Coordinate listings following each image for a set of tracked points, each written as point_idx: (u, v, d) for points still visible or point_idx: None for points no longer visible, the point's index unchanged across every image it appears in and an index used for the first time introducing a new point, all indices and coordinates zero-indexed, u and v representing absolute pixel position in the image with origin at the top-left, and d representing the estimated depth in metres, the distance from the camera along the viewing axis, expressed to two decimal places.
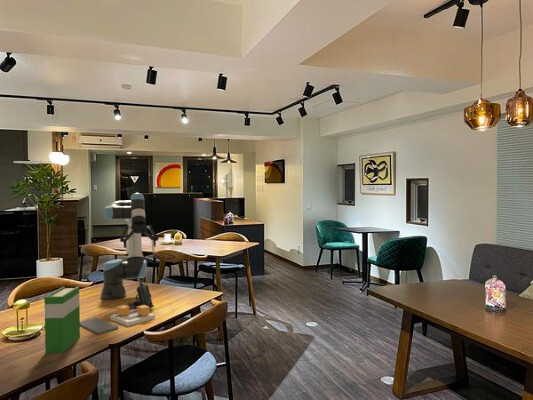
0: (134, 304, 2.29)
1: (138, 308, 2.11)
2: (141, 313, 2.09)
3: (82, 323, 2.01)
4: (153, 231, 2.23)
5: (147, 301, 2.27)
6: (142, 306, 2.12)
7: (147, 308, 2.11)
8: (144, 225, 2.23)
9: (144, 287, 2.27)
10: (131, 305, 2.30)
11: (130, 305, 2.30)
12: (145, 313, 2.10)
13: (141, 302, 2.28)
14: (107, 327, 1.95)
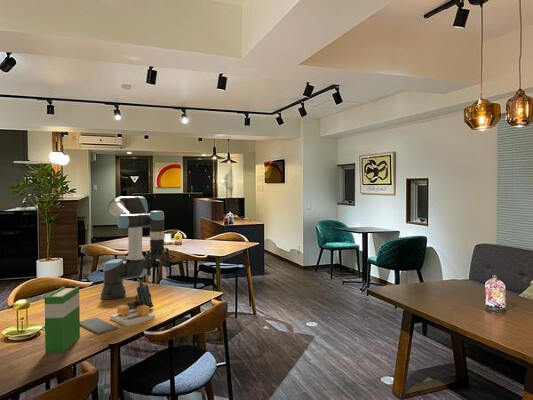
0: (134, 304, 2.29)
1: (138, 308, 2.11)
2: (141, 313, 2.09)
3: (82, 323, 2.01)
4: (168, 256, 2.22)
5: (147, 301, 2.27)
6: (142, 306, 2.12)
7: (147, 308, 2.11)
8: (162, 248, 2.19)
9: (144, 287, 2.27)
10: (131, 305, 2.30)
11: (130, 305, 2.30)
12: (145, 313, 2.10)
13: (141, 302, 2.28)
14: (107, 327, 1.95)
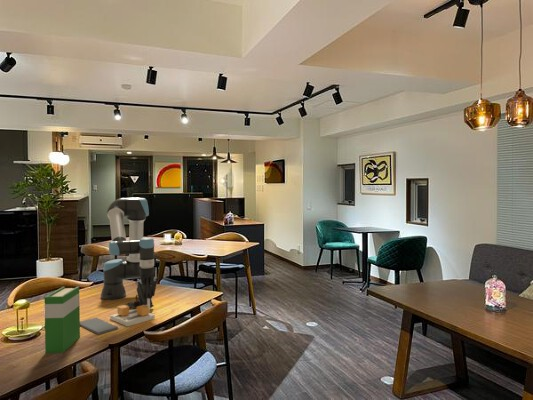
0: (134, 304, 2.29)
1: (138, 308, 2.11)
2: (141, 313, 2.09)
3: (82, 323, 2.01)
4: (155, 286, 2.16)
5: None
6: (142, 306, 2.12)
7: (147, 308, 2.11)
8: (152, 276, 2.15)
9: None
10: (131, 305, 2.30)
11: (130, 305, 2.30)
12: (145, 313, 2.10)
13: (141, 302, 2.28)
14: (107, 327, 1.95)
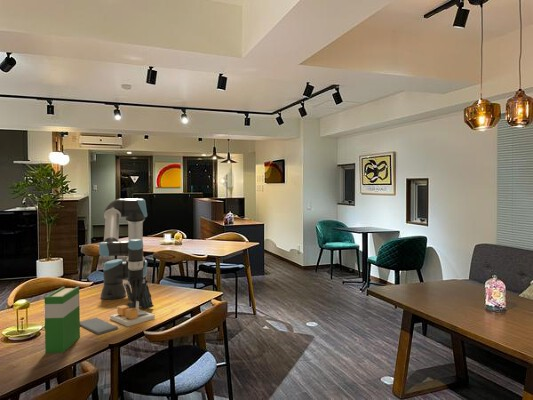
0: None
1: (126, 311, 2.06)
2: (129, 316, 2.04)
3: (82, 323, 2.01)
4: (144, 289, 2.11)
5: (147, 301, 2.27)
6: (130, 309, 2.07)
7: (135, 311, 2.06)
8: (141, 278, 2.10)
9: None
10: (131, 305, 2.30)
11: (130, 305, 2.30)
12: (133, 316, 2.05)
13: (141, 302, 2.28)
14: (107, 327, 1.95)
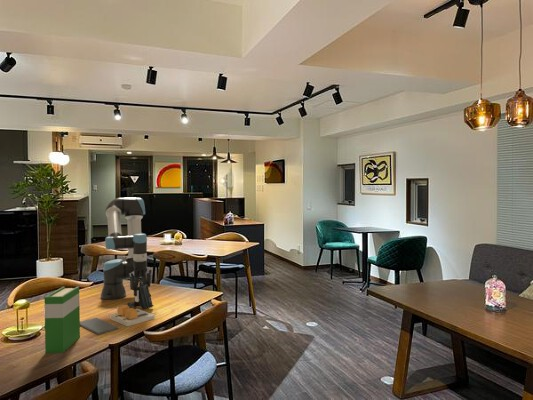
0: (134, 304, 2.29)
1: (126, 311, 2.06)
2: (129, 316, 2.04)
3: (82, 323, 2.01)
4: (149, 278, 2.33)
5: (147, 301, 2.27)
6: (130, 309, 2.06)
7: (135, 311, 2.05)
8: (145, 269, 2.31)
9: (144, 287, 2.27)
10: (131, 305, 2.30)
11: (130, 305, 2.30)
12: (133, 316, 2.05)
13: (141, 302, 2.28)
14: (107, 327, 1.95)
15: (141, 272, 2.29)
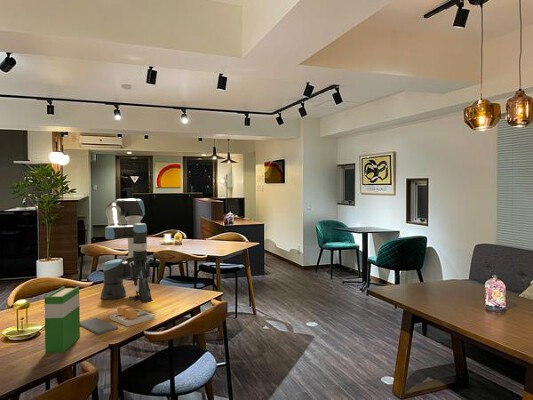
0: (134, 298, 2.30)
1: (126, 311, 2.06)
2: (129, 316, 2.04)
3: (82, 323, 2.01)
4: (149, 267, 2.33)
5: (146, 295, 2.27)
6: (130, 309, 2.06)
7: (135, 311, 2.05)
8: (145, 258, 2.31)
9: (143, 281, 2.27)
10: (132, 298, 2.32)
11: (131, 298, 2.32)
12: (133, 316, 2.05)
13: (140, 296, 2.28)
14: (107, 327, 1.95)
15: (141, 262, 2.29)
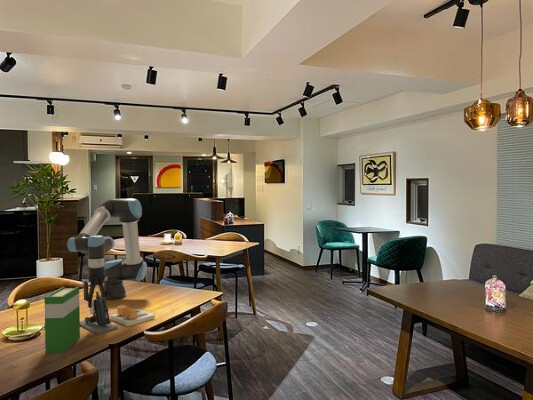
0: (90, 319, 2.00)
1: (126, 311, 2.06)
2: (129, 316, 2.04)
3: (82, 323, 2.01)
4: (108, 286, 2.03)
5: (103, 317, 1.96)
6: (130, 309, 2.06)
7: (135, 311, 2.05)
8: (103, 276, 2.00)
9: (100, 300, 1.97)
10: (88, 320, 2.01)
11: (87, 320, 2.01)
12: (133, 316, 2.05)
13: (97, 317, 1.98)
14: (107, 327, 1.95)
15: (97, 280, 1.98)
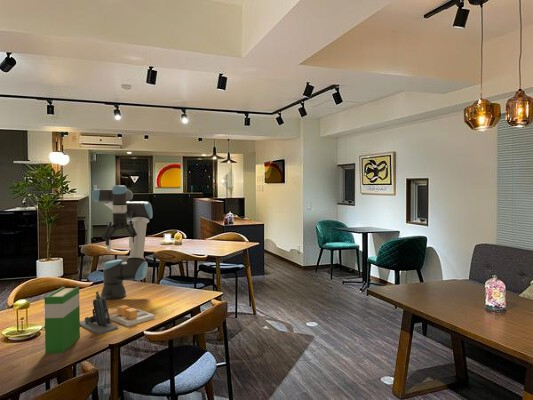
0: (90, 319, 2.00)
1: (126, 311, 2.06)
2: (129, 316, 2.04)
3: (82, 323, 2.01)
4: (133, 228, 2.30)
5: (103, 317, 1.96)
6: (130, 309, 2.06)
7: (135, 311, 2.05)
8: (125, 221, 2.27)
9: (100, 300, 1.97)
10: (88, 320, 2.01)
11: (87, 320, 2.01)
12: (133, 316, 2.05)
13: (97, 317, 1.98)
14: (107, 327, 1.95)
15: (121, 224, 2.25)
